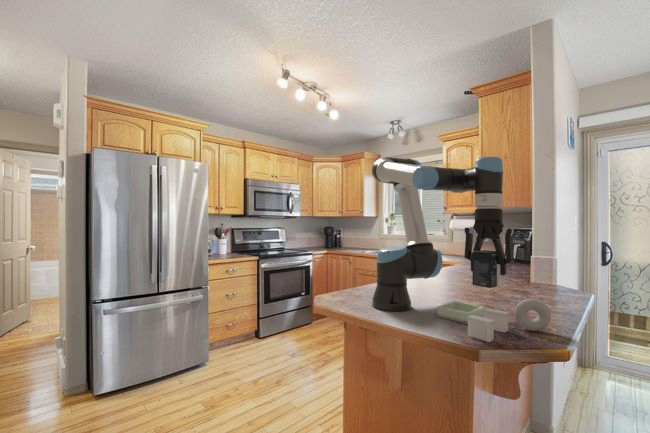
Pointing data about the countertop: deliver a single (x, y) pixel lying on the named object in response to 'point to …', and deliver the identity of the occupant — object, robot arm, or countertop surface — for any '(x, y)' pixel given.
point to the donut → (537, 323)
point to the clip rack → (487, 324)
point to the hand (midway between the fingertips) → (487, 284)
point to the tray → (459, 311)
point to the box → (485, 268)
